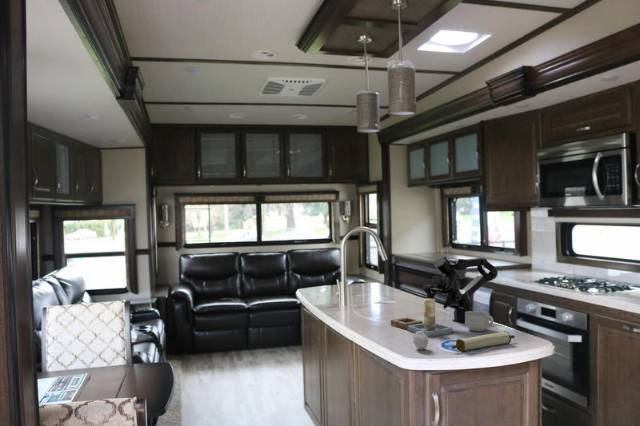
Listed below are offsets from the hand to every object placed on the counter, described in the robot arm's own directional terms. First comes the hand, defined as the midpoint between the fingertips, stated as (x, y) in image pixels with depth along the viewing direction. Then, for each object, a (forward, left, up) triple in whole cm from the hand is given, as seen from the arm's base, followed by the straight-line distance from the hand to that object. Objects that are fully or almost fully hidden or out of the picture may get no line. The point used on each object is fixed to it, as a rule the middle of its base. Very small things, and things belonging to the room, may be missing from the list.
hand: (435, 306), depth 229 cm
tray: (-4, +7, -10) cm, 13 cm away
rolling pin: (-35, +6, -10) cm, 37 cm away
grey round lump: (-23, +29, -10) cm, 38 cm away
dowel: (-4, +7, -9) cm, 12 cm away
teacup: (-15, -13, -10) cm, 22 cm away
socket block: (+11, +8, -10) cm, 17 cm away
